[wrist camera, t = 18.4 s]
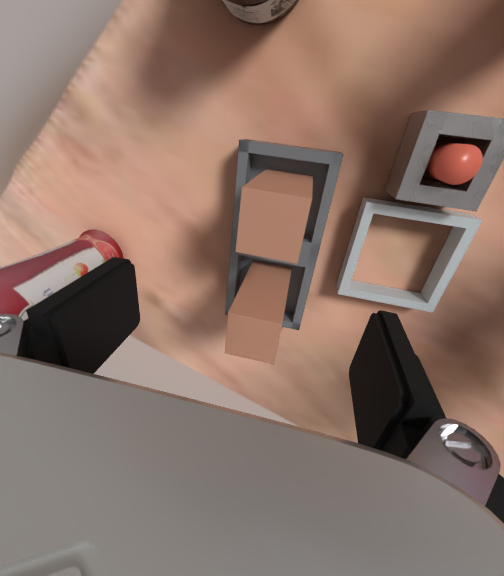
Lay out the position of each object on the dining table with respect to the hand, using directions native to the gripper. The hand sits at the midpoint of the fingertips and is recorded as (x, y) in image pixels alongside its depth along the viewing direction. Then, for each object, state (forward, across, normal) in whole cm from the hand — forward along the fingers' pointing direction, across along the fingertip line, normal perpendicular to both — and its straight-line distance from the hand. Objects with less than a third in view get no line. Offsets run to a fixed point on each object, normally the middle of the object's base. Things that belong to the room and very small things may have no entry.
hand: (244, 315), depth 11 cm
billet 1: (+24, +1, 0) cm, 24 cm away
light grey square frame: (+24, -13, +4) cm, 28 cm away
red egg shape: (+23, -13, -6) cm, 27 cm away
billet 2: (+24, +1, +11) cm, 26 cm away
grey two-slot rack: (+24, +1, +6) cm, 25 cm away
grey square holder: (+24, -13, -6) cm, 28 cm away
